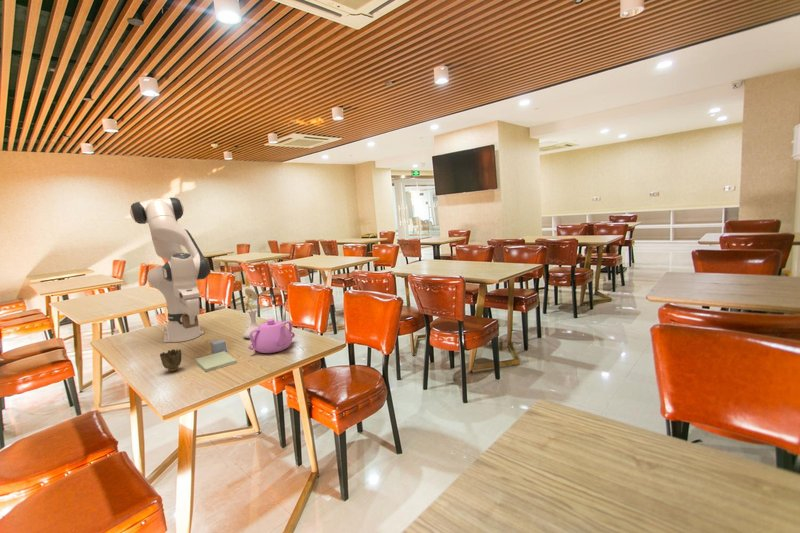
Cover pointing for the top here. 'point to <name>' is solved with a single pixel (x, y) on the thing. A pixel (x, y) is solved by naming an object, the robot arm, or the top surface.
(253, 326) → the flower in vase
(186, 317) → the walnut block
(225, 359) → the base plate
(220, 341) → the slate block
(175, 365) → the dark brown round piece
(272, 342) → the teapot
